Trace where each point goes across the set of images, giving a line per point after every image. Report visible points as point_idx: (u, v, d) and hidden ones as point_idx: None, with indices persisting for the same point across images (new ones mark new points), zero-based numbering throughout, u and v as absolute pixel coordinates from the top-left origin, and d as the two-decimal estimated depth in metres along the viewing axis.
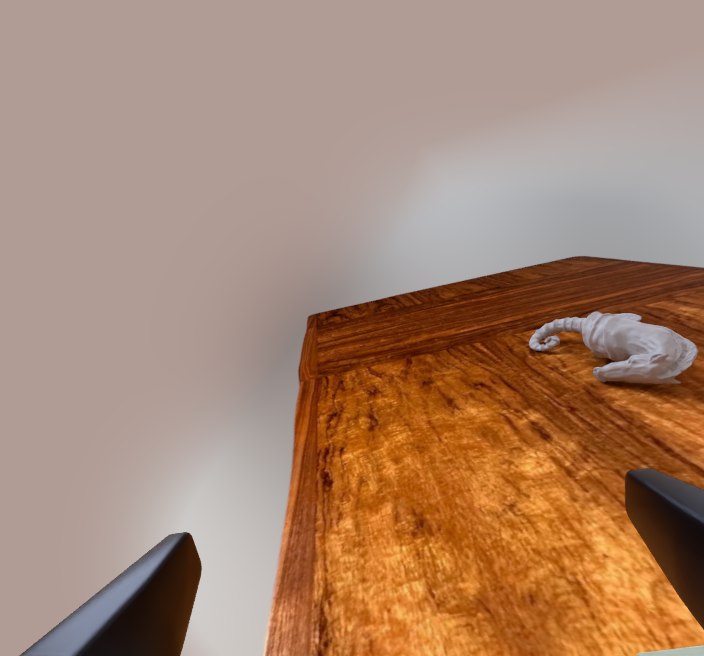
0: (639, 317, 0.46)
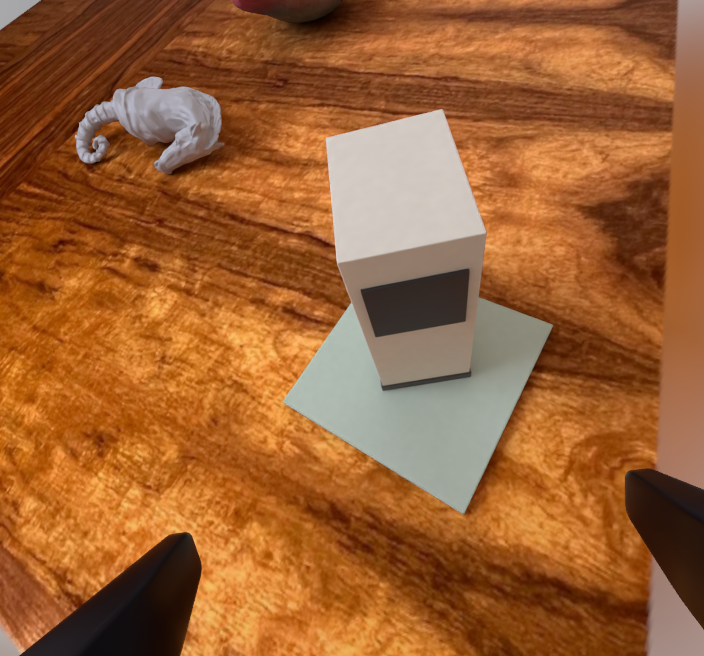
0: (160, 79, 0.42)
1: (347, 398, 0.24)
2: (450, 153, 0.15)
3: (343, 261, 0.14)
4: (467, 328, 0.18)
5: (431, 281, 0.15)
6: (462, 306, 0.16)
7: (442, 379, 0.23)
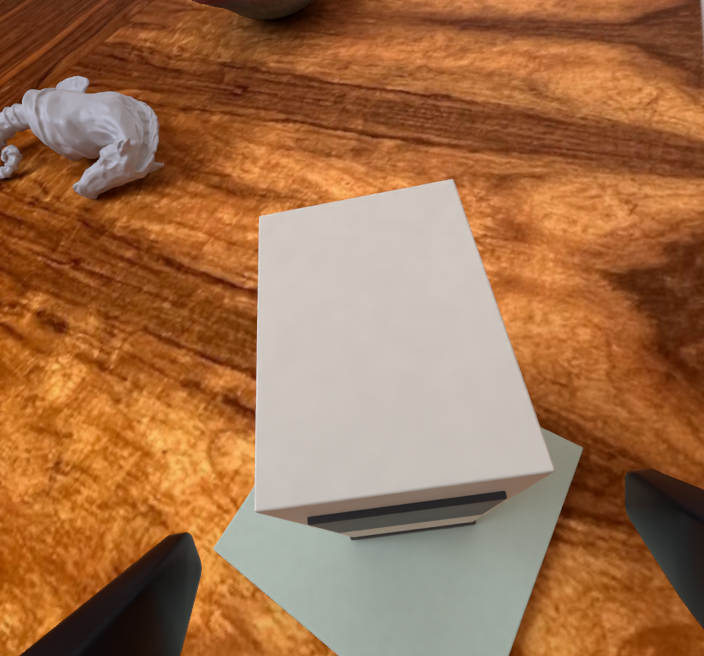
0: (86, 80, 0.34)
1: (303, 550, 0.17)
2: (471, 269, 0.08)
3: (267, 507, 0.07)
4: None
5: (437, 508, 0.08)
6: (482, 510, 0.10)
7: (435, 529, 0.16)
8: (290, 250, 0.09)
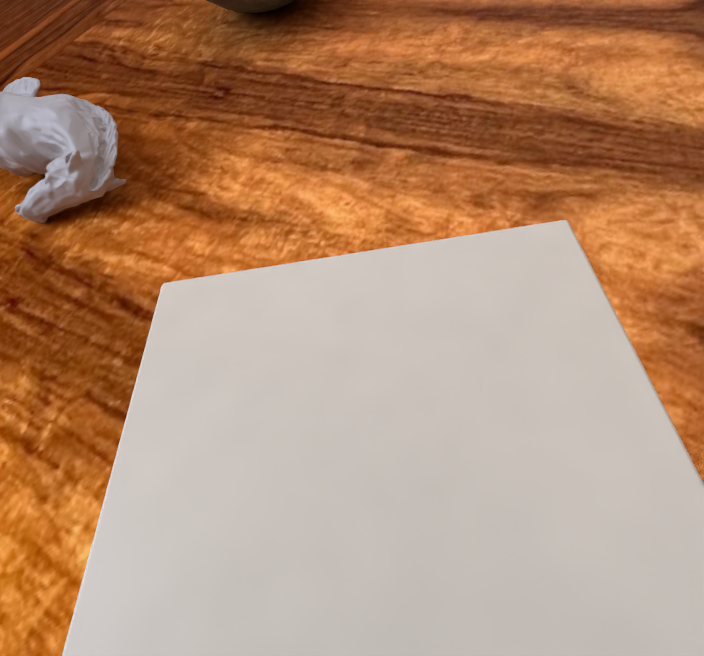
0: (36, 82, 0.28)
1: None
2: (662, 477, 0.03)
3: None
4: None
5: None
6: None
7: None
8: (204, 369, 0.04)
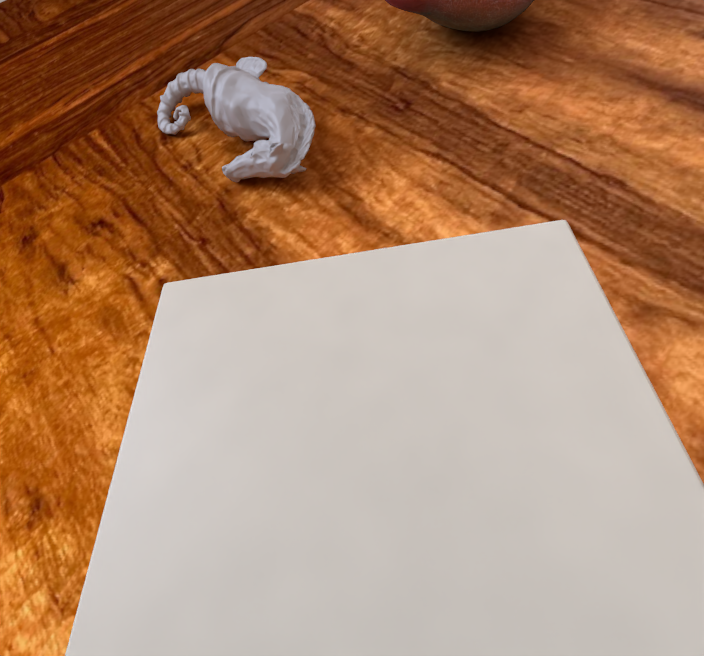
0: (264, 64, 0.35)
1: None
2: (659, 474, 0.03)
3: None
4: None
5: None
6: None
7: None
8: (206, 368, 0.04)
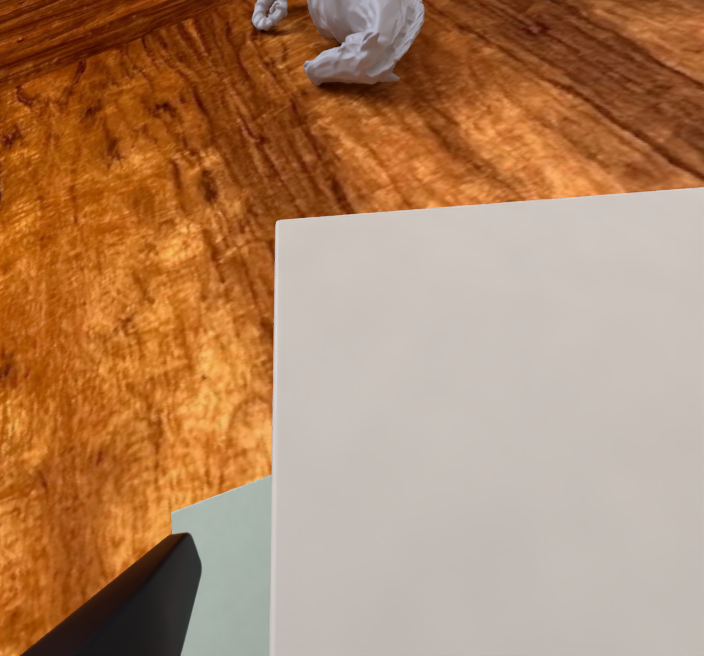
0: None
1: (239, 598, 0.14)
2: None
3: None
4: None
5: None
6: None
7: None
8: (363, 313, 0.04)
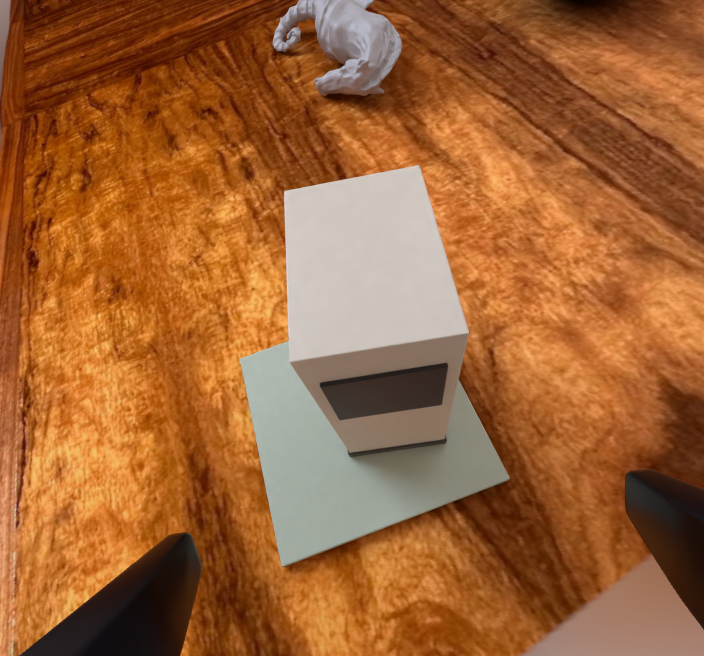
0: None
1: (284, 396, 0.24)
2: (427, 223, 0.13)
3: (297, 359, 0.11)
4: (443, 408, 0.16)
5: (404, 376, 0.12)
6: (438, 393, 0.14)
7: (415, 446, 0.21)
8: (307, 213, 0.14)
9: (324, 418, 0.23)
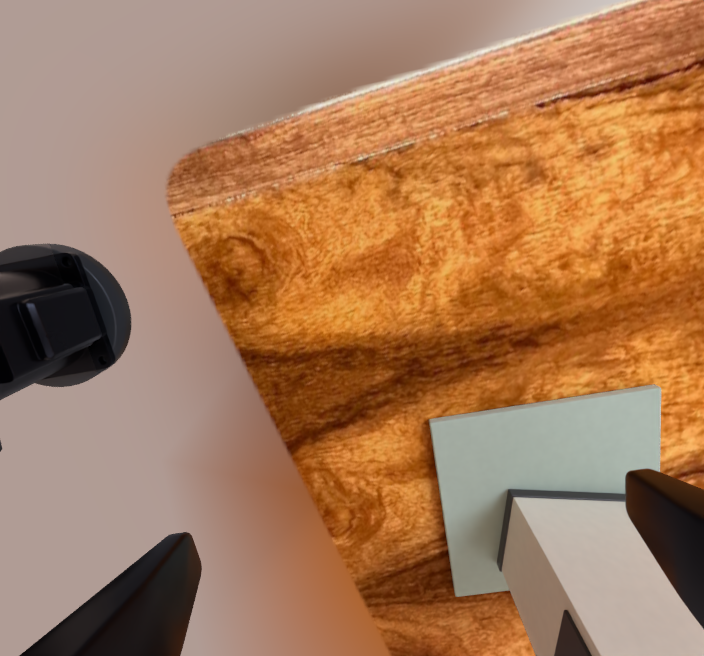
0: None
1: (591, 435, 0.21)
2: None
3: None
4: None
5: None
6: None
7: (501, 545, 0.23)
8: None
9: (553, 471, 0.22)
